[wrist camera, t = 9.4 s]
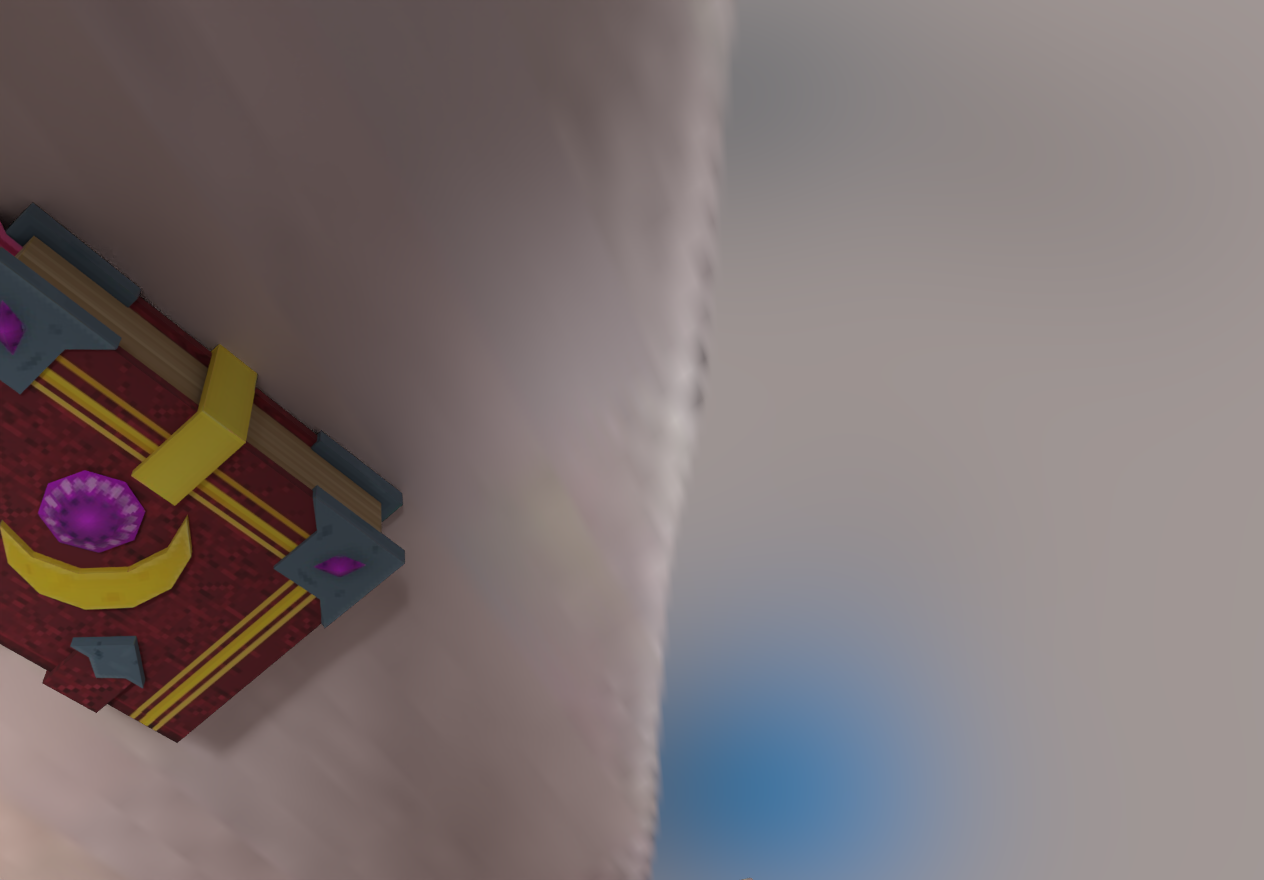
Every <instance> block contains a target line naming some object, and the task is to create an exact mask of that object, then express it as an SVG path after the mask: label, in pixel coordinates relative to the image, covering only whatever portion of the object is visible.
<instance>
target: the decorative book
mask: <svg viewBox="0 0 1264 880" xmlns="http://www.w3.org/2000/svg"><path fill="white" fill-rule="evenodd" d="M140 292H141V289H140V288H139V287H138V286H137V285H135V284H134V283H133V282H132V281H130V280H129V279H128V278H127V277H125V276H124V275H123V274H121V273H120V272H119V271H118V270H116V269H115V268H114V267H113V266H111V265H110V264H109V263H108V262H106V261H105V260H104V259H103V258H101V257H100V256H99V255H98V254H96V253H95V252H94V251H93V250H91V249H90V248H89V247H88V246H86V245H85V244H84V243H83V242H81V241H80V240H79V239H78V238H76V237H75V236H74V235H73V234H71V233H70V232H69V231H68V230H66V229H65V228H64V227H63V226H61V225H60V224H59V223H58V222H56V221H55V220H54V219H53V218H51V217H50V216H49V215H48V214H46V213H45V212H44V211H43V210H41V209H40V208H39V207H38V206H36V205H35V204H34V203H32V204H31V205H30V206H29V207H28V208H27V209H26V210H25V211H24V212H23V213H22V214H21V215H20V216H19V217H18V218H17V219H16V220H15V221H14V222H13V223H12V224H11V225H10V226H9V227H8V228H7V229H6V230H4V228H3V226H2V224H1V222H0V644H1V645H3V646H5V647H6V648H8V649H10V650H12V651H14V652H15V653H17V654H19V655H21V656H23V657H24V658H26V659H28V660H30V661H32V662H33V663H35V664H37V665H39V666H40V667H42V668H44V669H46V670H47V671H46V674H45V677H44V680H43V684H45V685H47V686H48V687H50V688H52V689H54V690H56V691H58V692H59V693H61V694H63V695H65V696H67V697H68V698H70V699H72V700H74V701H76V702H77V703H79V704H81V705H83V706H85V707H86V708H88V709H90V710H92V711H94V712H96V713H97V712H98V711H99V710H100V709H102V708H103V707H104V706H105V705H106V704H108V705H110V706H112V707H114V708H115V709H117V710H119V711H121V712H123V713H124V714H126V715H128V716H130V717H132V718H133V719H135V720H137V721H139V722H141V723H142V724H144V725H146V726H148V727H149V728H151V729H153V730H155V731H157V732H158V733H160V734H162V735H164V736H166V737H167V738H169V739H171V740H173V741H174V742H176V743H178V742H179V741H180V740H181V739H183V738H184V737H185V736H186V735H187V734H189V733H190V732H191V731H192V730H193V729H195V728H196V727H197V726H198V725H199V724H201V723H202V722H203V721H204V720H205V719H207V718H208V717H209V716H210V715H212V714H213V713H214V712H215V711H216V710H218V709H219V708H220V707H221V706H222V705H224V704H225V703H226V702H227V701H228V700H230V699H231V698H232V697H233V696H234V695H236V694H237V693H238V692H239V691H240V690H242V689H243V688H244V687H245V686H246V685H248V684H249V683H250V682H251V681H253V680H254V679H255V678H256V677H257V676H259V675H260V674H261V673H262V672H263V671H265V670H266V669H267V668H268V667H269V666H271V665H272V664H273V663H274V662H275V661H277V660H278V659H279V658H280V657H281V656H283V655H284V654H285V653H286V652H287V651H289V650H290V649H291V648H292V647H294V646H295V645H296V644H297V643H298V642H300V641H301V640H302V639H303V638H304V637H306V636H307V635H308V634H309V633H310V632H312V631H313V630H314V629H315V628H316V627H318V626H319V625H320V624H321V623H322V625H323V627H324V628H326V627H327V626H328V625H330V624H331V623H332V622H333V621H335V620H336V619H337V618H338V617H339V616H341V615H342V614H343V613H344V612H346V611H347V610H348V609H349V608H351V607H352V606H353V605H354V604H355V603H357V602H358V601H359V600H360V599H362V598H363V597H364V596H365V595H367V594H368V593H369V592H370V591H371V590H373V589H374V588H375V587H376V586H378V585H379V584H380V583H381V582H383V581H384V580H385V579H386V578H387V577H389V576H390V575H391V574H392V573H394V572H395V571H396V570H397V569H399V568H400V567H401V566H402V565H403V564H405V551H404V550H403V549H402V548H401V547H399V546H398V545H397V544H395V543H394V542H393V541H391V540H390V539H389V538H387V537H386V536H385V535H383V534H382V533H381V522H383V521H384V520H385V519H386V518H387V517H389V516H390V515H391V514H392V513H393V512H395V511H396V510H397V509H398V508H399V507H401V506H402V505H403V499H402V493H401V492H400V491H398V490H397V489H396V488H394V487H393V486H392V485H391V484H389V483H388V482H387V481H385V480H384V479H383V478H382V477H380V476H379V475H378V474H376V473H375V472H374V471H372V470H371V469H370V468H369V467H367V466H366V465H365V464H363V463H362V462H361V461H360V460H358V459H357V458H356V457H354V456H353V455H352V454H350V453H349V452H348V451H347V450H345V449H344V448H343V447H341V446H340V445H339V444H338V443H336V442H335V441H334V440H332V439H331V438H330V437H328V436H327V435H326V434H325V433H323V432H322V431H320V432H319V434H318V435H316V434H315V433H314V432H312V431H311V430H310V429H309V428H307V427H306V426H305V425H304V424H302V423H301V422H300V421H298V420H297V419H296V418H295V417H293V416H292V415H291V414H289V413H288V412H287V411H286V410H284V409H283V408H282V407H281V406H279V405H278V404H277V403H275V402H274V401H273V400H272V399H270V398H269V397H268V396H266V395H265V394H264V393H263V392H261V391H260V390H259V389H258V388H256V382H257V376H258V374H257V373H256V372H254V371H253V370H252V369H251V368H249V367H248V366H247V365H246V364H244V363H243V362H242V361H240V360H239V359H238V358H237V357H235V356H234V355H233V354H232V353H230V352H229V351H228V350H227V349H225V348H224V347H223V346H222V345H220V344H219V345H217V346H216V347H215V348H214V349H213V350H212V351H211V352H210V351H209V350H208V349H206V348H205V347H204V346H203V345H201V344H200V343H199V342H197V341H196V340H195V339H194V338H192V337H191V336H190V335H189V334H187V333H186V332H185V331H183V330H182V329H181V328H180V327H178V326H177V325H176V324H174V323H173V322H172V321H171V320H169V319H168V318H167V317H165V316H164V315H163V314H162V313H160V312H159V311H158V310H157V309H155V308H154V307H153V306H151V305H150V304H149V303H148V302H146V301H145V300H144V299H142V298H141V297H140V296H139V295H140Z"/></svg>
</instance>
